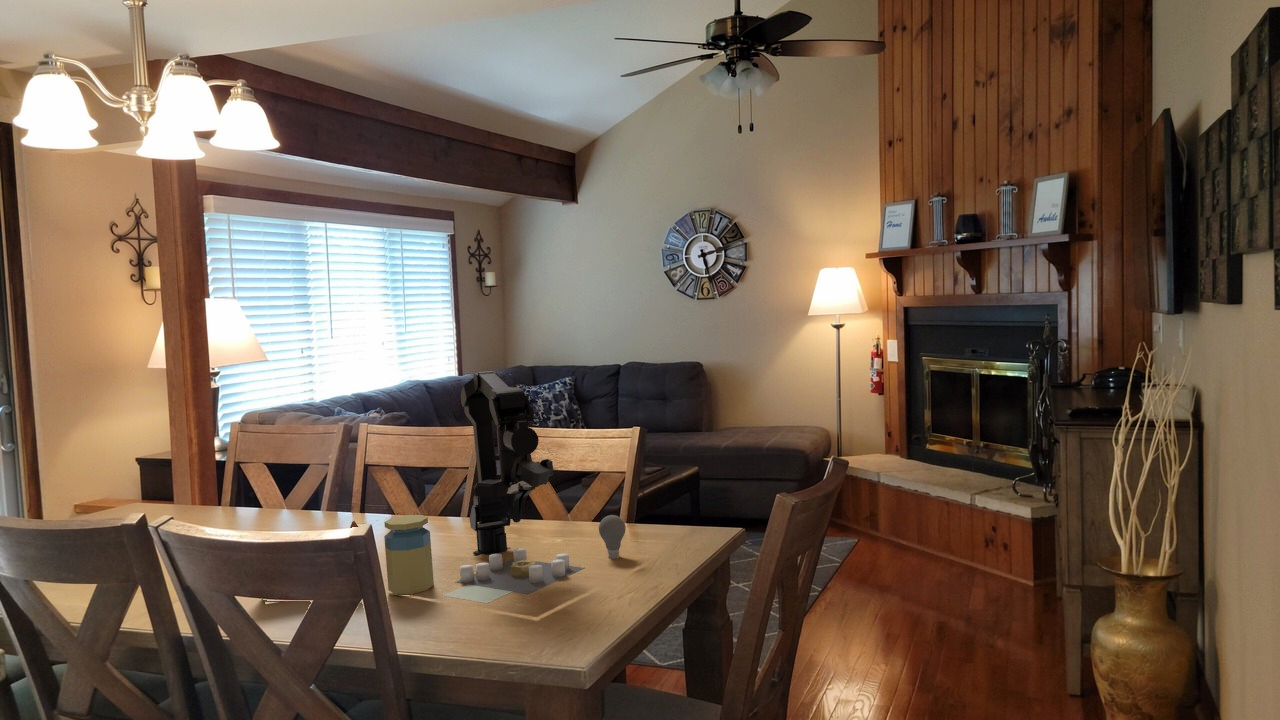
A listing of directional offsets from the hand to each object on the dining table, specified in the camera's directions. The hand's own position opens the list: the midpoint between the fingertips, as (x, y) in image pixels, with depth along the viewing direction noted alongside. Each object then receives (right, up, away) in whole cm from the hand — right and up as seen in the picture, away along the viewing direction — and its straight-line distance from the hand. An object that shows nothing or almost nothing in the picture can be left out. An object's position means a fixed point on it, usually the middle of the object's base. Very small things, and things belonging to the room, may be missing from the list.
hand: (516, 522), depth 193 cm
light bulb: (+20, -10, +10) cm, 25 cm away
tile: (-7, -13, -10) cm, 18 cm away
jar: (-21, -14, -4) cm, 26 cm away
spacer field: (+1, -12, +1) cm, 12 cm away
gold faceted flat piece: (+1, -11, +1) cm, 11 cm away
